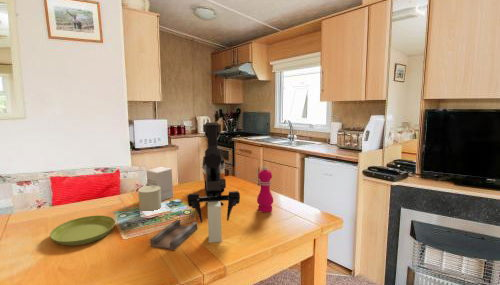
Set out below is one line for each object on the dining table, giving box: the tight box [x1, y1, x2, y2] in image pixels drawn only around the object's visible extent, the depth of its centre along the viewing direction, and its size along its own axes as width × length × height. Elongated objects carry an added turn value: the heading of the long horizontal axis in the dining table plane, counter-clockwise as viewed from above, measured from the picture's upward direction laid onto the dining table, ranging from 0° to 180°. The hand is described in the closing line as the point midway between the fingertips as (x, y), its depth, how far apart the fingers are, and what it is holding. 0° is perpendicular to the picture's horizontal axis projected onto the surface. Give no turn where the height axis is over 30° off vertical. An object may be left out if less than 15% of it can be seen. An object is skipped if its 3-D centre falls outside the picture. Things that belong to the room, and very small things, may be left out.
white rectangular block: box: [207, 201, 223, 244], centre depth 97 cm, size 5×4×13 cm
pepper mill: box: [256, 166, 274, 213], centre depth 121 cm, size 7×7×20 cm
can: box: [137, 185, 162, 212], centre depth 118 cm, size 9×9×12 cm
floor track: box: [149, 219, 199, 251], centre depth 99 cm, size 16×9×3 cm, turn 162°
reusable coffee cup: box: [202, 161, 226, 182], centre depth 152 cm, size 13×13×15 cm
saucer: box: [49, 215, 116, 247], centre depth 102 cm, size 21×21×3 cm
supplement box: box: [145, 166, 174, 202], centre depth 138 cm, size 9×9×15 cm
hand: (214, 221), depth 96 cm, fingers open, 9 cm apart
